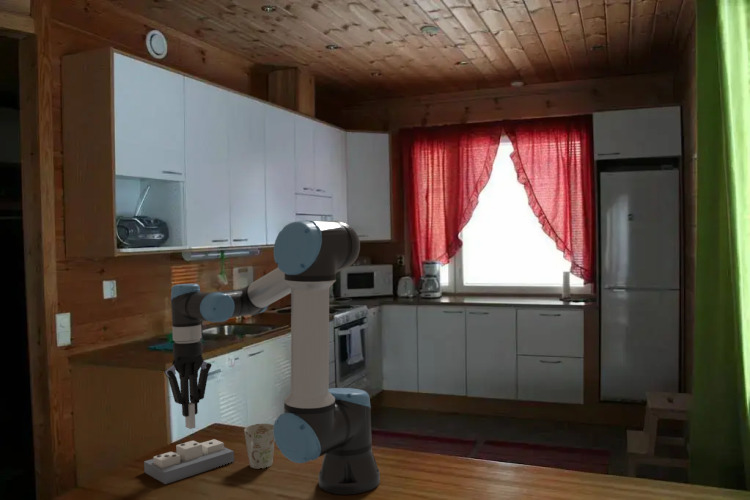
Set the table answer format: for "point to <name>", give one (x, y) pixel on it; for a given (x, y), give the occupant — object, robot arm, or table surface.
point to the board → (189, 466)
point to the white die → (189, 450)
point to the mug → (260, 445)
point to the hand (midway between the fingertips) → (190, 427)
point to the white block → (212, 446)
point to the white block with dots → (166, 460)
